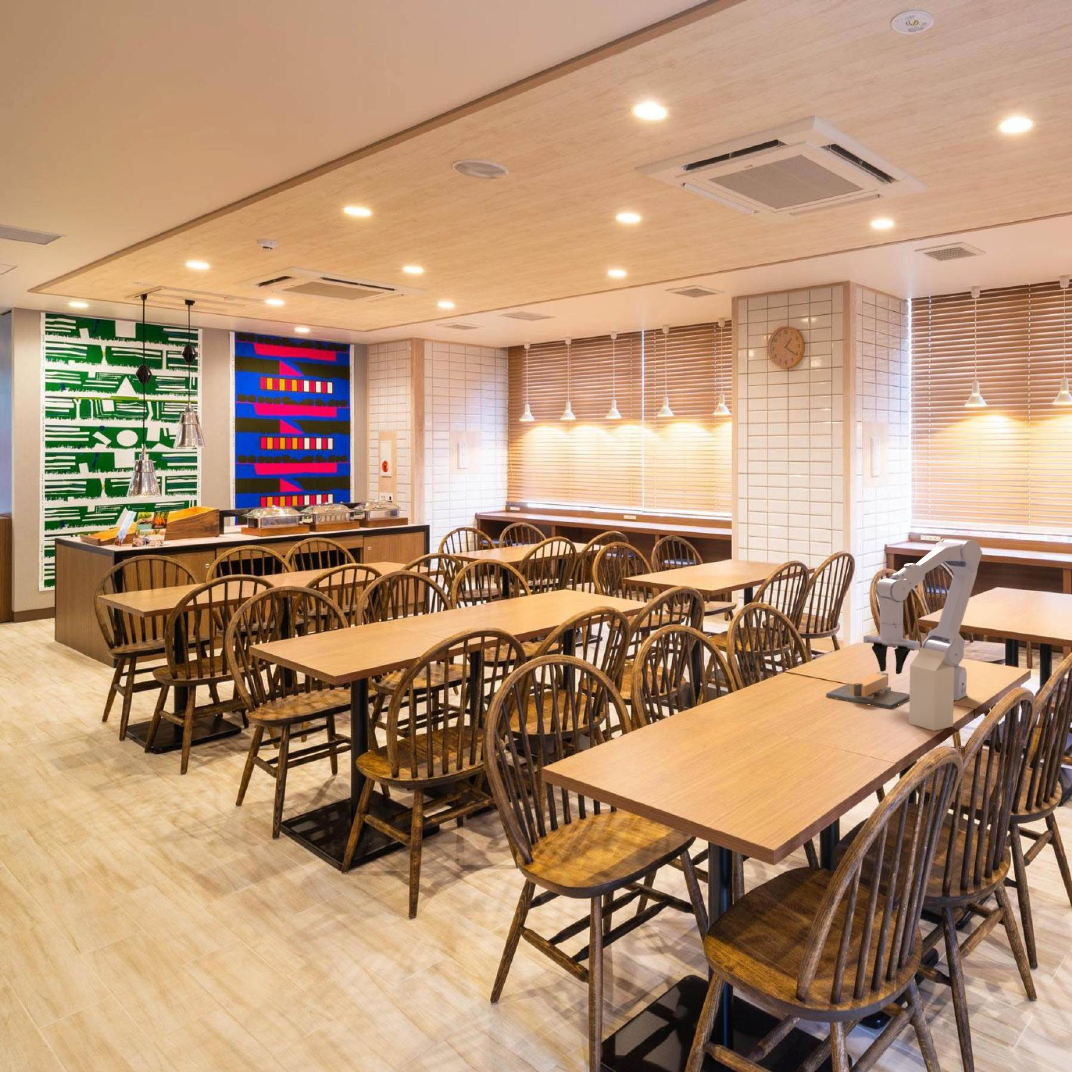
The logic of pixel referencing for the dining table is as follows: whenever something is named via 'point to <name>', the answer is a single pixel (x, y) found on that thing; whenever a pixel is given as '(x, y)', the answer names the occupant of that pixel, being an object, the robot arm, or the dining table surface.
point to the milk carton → (931, 690)
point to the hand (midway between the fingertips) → (890, 672)
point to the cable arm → (869, 684)
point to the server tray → (871, 696)
